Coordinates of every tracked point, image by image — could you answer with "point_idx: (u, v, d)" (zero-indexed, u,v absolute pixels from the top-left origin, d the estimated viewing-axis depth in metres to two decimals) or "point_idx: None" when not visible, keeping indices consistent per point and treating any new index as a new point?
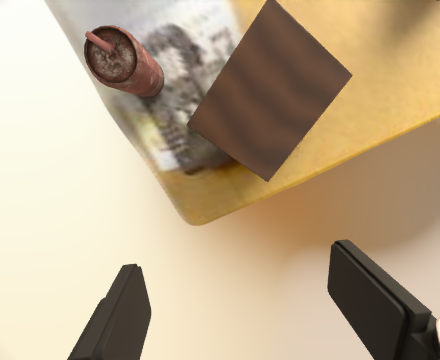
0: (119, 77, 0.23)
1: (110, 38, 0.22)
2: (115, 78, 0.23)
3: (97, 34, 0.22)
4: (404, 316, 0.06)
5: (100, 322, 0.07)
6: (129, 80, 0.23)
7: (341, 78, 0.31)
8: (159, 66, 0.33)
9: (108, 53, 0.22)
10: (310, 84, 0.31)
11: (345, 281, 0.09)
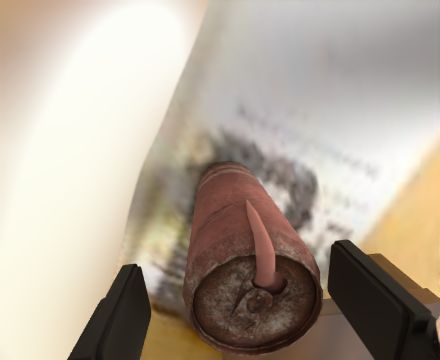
0: (225, 332, 0.09)
1: (287, 276, 0.09)
2: (216, 328, 0.09)
3: (277, 256, 0.08)
4: (404, 316, 0.06)
5: (100, 322, 0.07)
6: (235, 350, 0.09)
7: None
8: None
9: (256, 292, 0.09)
10: None
11: (345, 281, 0.09)
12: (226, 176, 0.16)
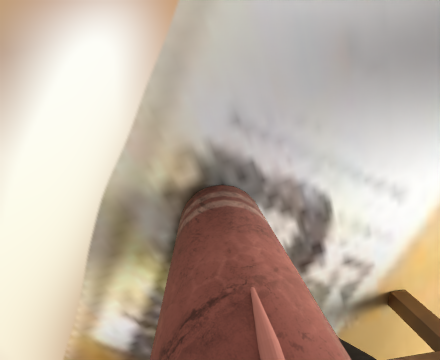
0: None
1: None
2: None
3: None
4: None
5: None
6: None
7: None
8: None
9: None
10: None
11: None
12: (217, 214, 0.11)
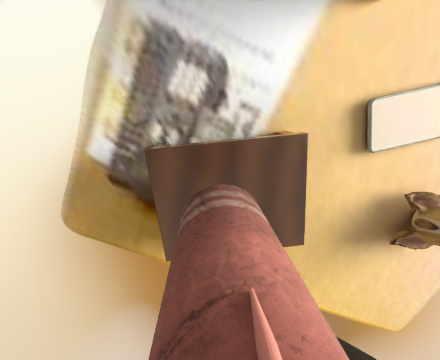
0: None
1: None
2: None
3: None
4: None
5: None
6: None
7: (295, 239, 0.30)
8: None
9: None
10: (272, 222, 0.29)
11: None
12: (217, 213, 0.11)
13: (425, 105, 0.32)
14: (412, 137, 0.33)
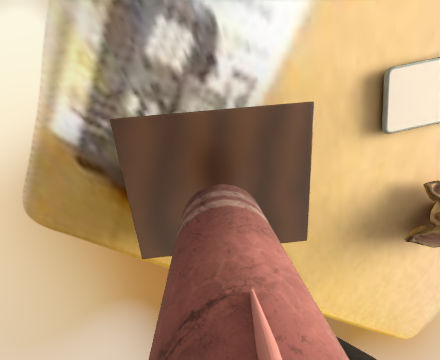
0: None
1: None
2: None
3: None
4: None
5: None
6: None
7: (296, 233, 0.25)
8: None
9: None
10: (269, 212, 0.24)
11: None
12: (217, 214, 0.11)
13: None
14: (435, 115, 0.28)
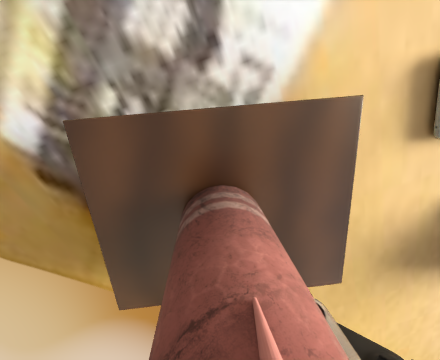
0: None
1: None
2: None
3: None
4: None
5: None
6: None
7: (328, 275, 0.19)
8: None
9: None
10: (292, 248, 0.18)
11: None
12: (218, 216, 0.10)
13: None
14: None
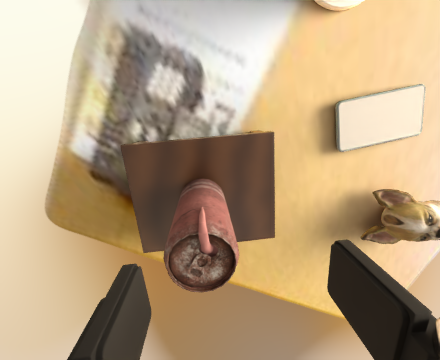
0: (187, 279, 0.17)
1: (218, 247, 0.16)
2: (182, 276, 0.17)
3: (211, 235, 0.16)
4: (404, 316, 0.06)
5: (100, 322, 0.07)
6: (193, 289, 0.17)
7: (266, 232, 0.32)
8: None
9: (202, 255, 0.16)
10: (243, 215, 0.31)
11: (345, 281, 0.09)
12: (196, 190, 0.24)
13: (389, 108, 0.34)
14: (378, 137, 0.35)
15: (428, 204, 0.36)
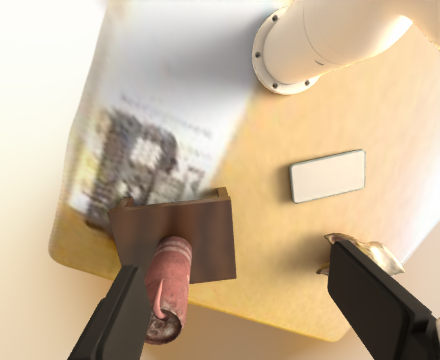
0: (148, 335, 0.24)
1: (169, 314, 0.23)
2: None
3: (162, 308, 0.23)
4: (404, 316, 0.06)
5: (100, 322, 0.07)
6: (152, 342, 0.24)
7: (229, 274, 0.39)
8: None
9: (157, 320, 0.23)
10: (209, 262, 0.38)
11: (345, 281, 0.09)
12: (164, 254, 0.30)
13: (335, 169, 0.40)
14: (327, 192, 0.42)
15: (369, 247, 0.42)
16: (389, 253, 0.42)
